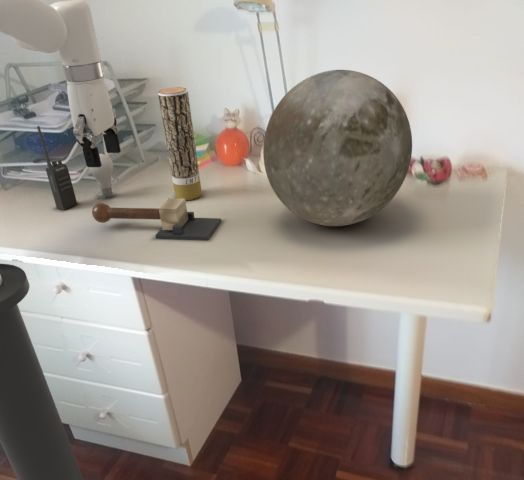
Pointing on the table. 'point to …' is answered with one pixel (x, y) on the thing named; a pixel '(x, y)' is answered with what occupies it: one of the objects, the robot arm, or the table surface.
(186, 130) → the paper tube
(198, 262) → the table surface
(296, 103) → the globe
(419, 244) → the table surface
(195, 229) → the stand
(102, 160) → the lightbulb
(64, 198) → the walkie-talkie
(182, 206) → the mallet
